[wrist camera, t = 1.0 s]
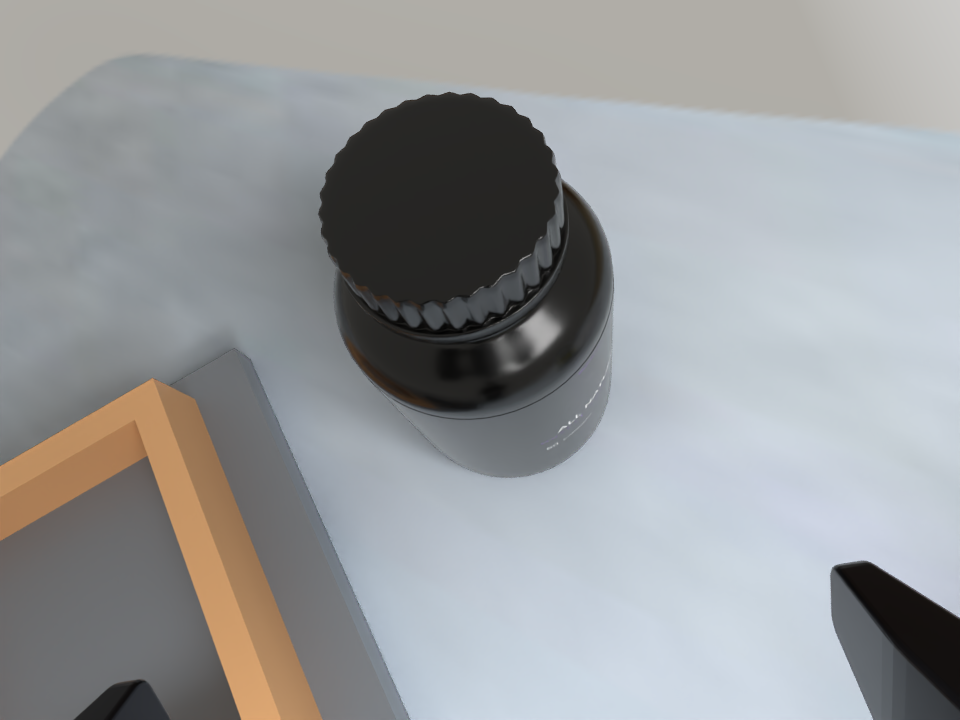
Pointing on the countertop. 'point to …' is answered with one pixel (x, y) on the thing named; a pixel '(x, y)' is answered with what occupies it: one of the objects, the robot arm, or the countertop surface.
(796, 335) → the countertop surface
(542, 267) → the supplement bottle
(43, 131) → the countertop surface
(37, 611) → the housing
